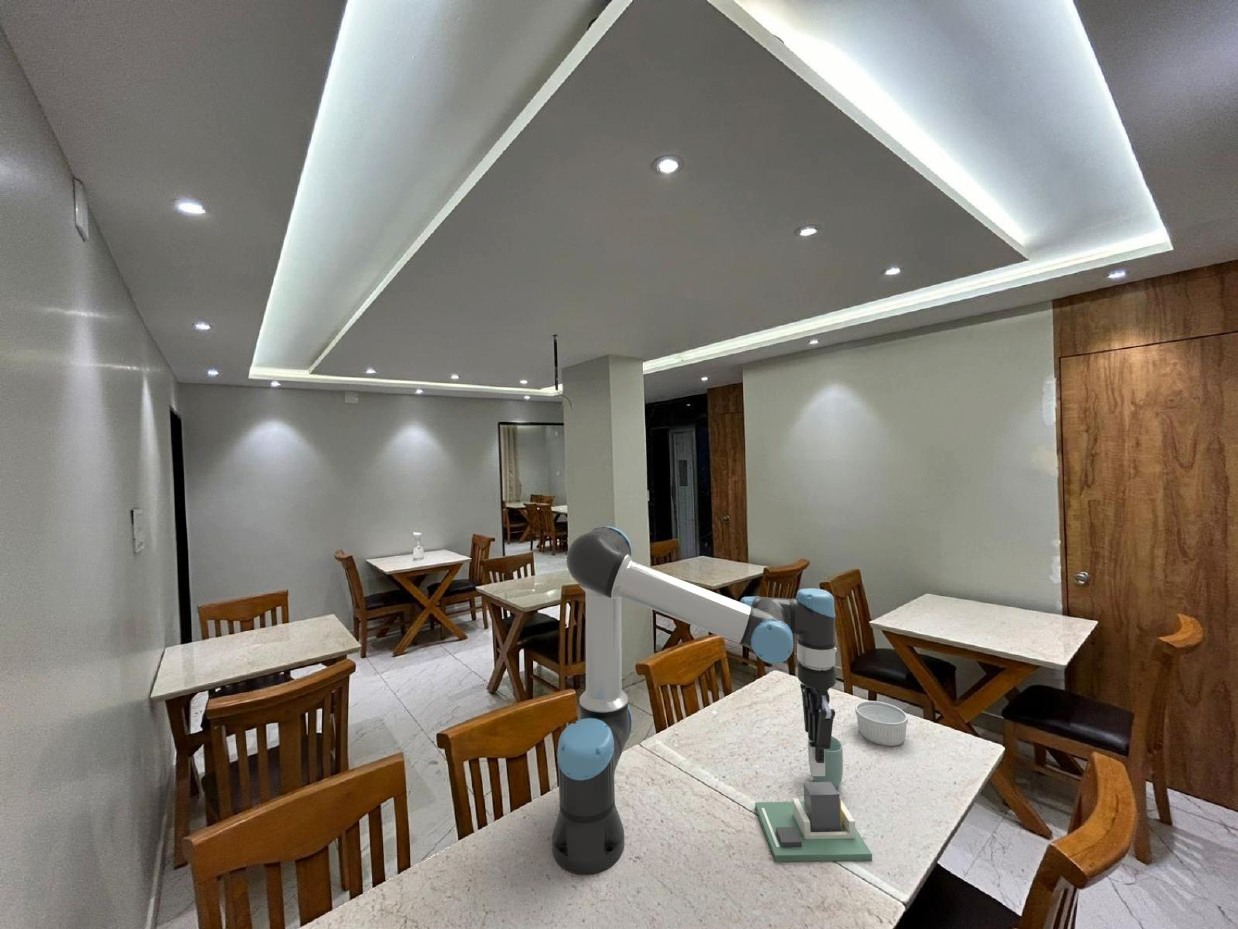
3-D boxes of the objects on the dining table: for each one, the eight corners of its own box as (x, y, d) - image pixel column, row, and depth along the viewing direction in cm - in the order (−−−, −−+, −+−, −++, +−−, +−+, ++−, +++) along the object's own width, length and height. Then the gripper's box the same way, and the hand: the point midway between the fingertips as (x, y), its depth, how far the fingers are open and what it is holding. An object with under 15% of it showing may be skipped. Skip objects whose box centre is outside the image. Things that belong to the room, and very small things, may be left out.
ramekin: (860, 719, 146) (859, 696, 146) (910, 732, 138) (909, 707, 138) (852, 740, 135) (851, 715, 135) (906, 755, 127) (905, 729, 127)
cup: (847, 795, 112) (846, 753, 112) (812, 792, 114) (811, 750, 114) (839, 774, 120) (837, 734, 120) (806, 771, 122) (805, 732, 122)
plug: (812, 833, 100) (810, 795, 100) (804, 819, 104) (803, 782, 104) (843, 832, 100) (842, 794, 100) (835, 818, 104) (833, 781, 104)
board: (775, 861, 94) (774, 837, 94) (755, 807, 109) (754, 787, 109) (872, 860, 94) (871, 836, 94) (838, 806, 109) (837, 785, 109)
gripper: (848, 677, 95) (849, 795, 95) (821, 651, 108) (822, 755, 108) (810, 677, 95) (811, 795, 95) (788, 651, 109) (789, 755, 108)
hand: (817, 773), depth 102 cm, fingers closed
